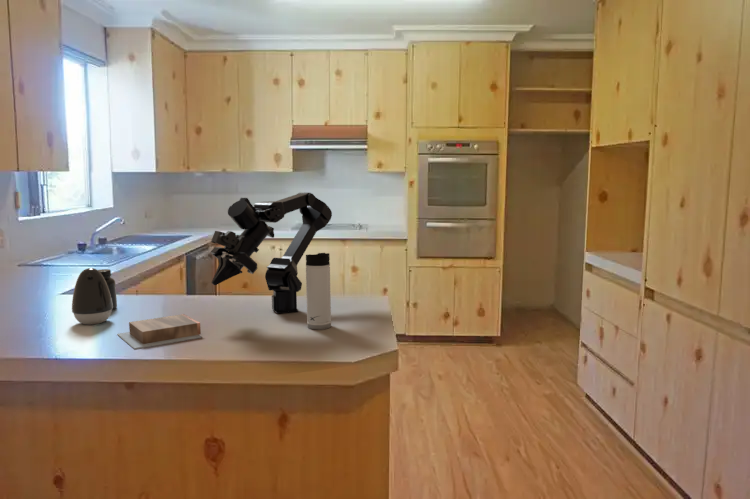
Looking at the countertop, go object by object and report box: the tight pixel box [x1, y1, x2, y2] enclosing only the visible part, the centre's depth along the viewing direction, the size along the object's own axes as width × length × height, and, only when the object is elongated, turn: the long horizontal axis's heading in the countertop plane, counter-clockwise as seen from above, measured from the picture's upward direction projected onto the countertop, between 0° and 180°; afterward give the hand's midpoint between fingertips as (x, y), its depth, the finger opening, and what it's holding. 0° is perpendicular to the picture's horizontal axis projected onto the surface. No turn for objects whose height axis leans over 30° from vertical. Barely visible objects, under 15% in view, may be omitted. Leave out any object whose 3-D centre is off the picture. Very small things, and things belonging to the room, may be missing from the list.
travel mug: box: [305, 252, 332, 331], centre depth 154 cm, size 6×7×20 cm
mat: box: [116, 331, 203, 350], centre depth 147 cm, size 16×16×1 cm
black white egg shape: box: [71, 267, 113, 326], centre depth 161 cm, size 10×10×15 cm
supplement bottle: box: [97, 268, 118, 311], centre depth 178 cm, size 7×7×12 cm
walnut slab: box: [128, 313, 202, 344], centre depth 148 cm, size 3×12×14 cm
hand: (213, 284), depth 155 cm, fingers closed
